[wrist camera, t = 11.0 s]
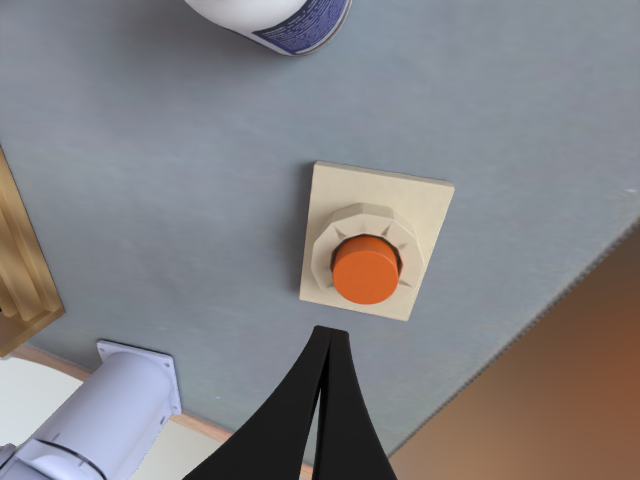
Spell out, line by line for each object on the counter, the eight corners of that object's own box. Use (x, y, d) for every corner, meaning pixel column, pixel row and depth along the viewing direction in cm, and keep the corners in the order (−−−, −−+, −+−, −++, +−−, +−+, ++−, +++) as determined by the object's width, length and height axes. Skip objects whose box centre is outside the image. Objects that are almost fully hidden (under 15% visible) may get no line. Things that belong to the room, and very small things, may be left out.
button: (388, 292, 18) (389, 310, 16) (331, 281, 18) (328, 298, 17) (402, 242, 16) (406, 257, 15) (340, 230, 17) (337, 244, 15)
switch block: (405, 310, 21) (410, 341, 19) (302, 289, 22) (292, 316, 20) (450, 181, 17) (465, 197, 14) (317, 160, 18) (307, 171, 15)
